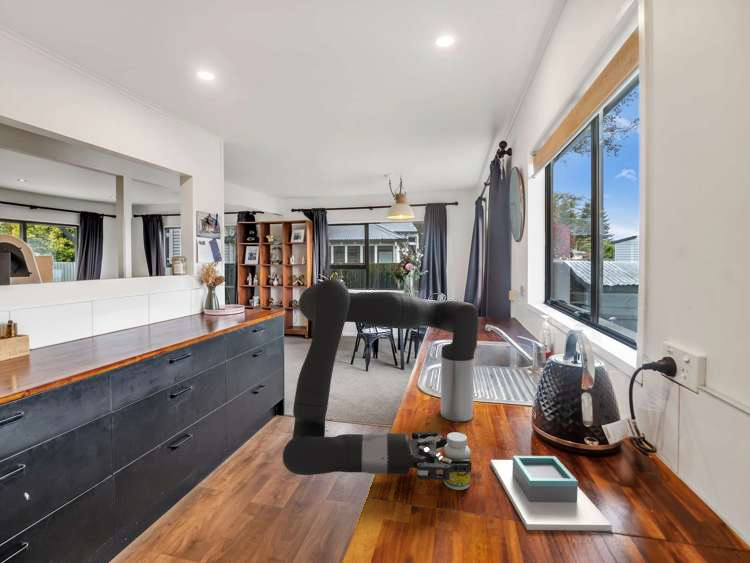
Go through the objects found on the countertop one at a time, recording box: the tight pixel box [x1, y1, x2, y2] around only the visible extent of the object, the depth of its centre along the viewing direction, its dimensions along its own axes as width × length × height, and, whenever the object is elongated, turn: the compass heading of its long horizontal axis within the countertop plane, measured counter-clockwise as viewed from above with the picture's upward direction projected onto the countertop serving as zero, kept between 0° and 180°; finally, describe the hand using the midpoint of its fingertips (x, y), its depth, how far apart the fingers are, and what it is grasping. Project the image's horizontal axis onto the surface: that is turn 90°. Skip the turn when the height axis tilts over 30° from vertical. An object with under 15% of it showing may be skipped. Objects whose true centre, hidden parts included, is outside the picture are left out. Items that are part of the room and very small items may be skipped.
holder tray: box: [490, 455, 613, 532], centre depth 71 cm, size 20×14×5 cm
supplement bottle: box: [442, 431, 472, 491], centre depth 74 cm, size 5×5×10 cm
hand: (465, 453), depth 74 cm, fingers open, 8 cm apart
